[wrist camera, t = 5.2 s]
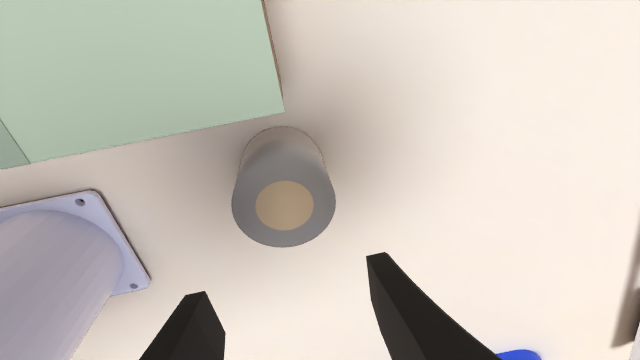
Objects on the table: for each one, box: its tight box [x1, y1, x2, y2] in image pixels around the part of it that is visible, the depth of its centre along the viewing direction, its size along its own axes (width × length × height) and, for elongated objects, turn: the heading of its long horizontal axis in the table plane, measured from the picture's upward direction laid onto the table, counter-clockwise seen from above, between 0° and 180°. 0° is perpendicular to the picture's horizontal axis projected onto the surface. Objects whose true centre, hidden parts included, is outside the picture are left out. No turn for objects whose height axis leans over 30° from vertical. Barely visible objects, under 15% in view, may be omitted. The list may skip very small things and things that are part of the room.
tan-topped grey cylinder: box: [232, 127, 336, 247], centre depth 17 cm, size 5×5×5 cm
